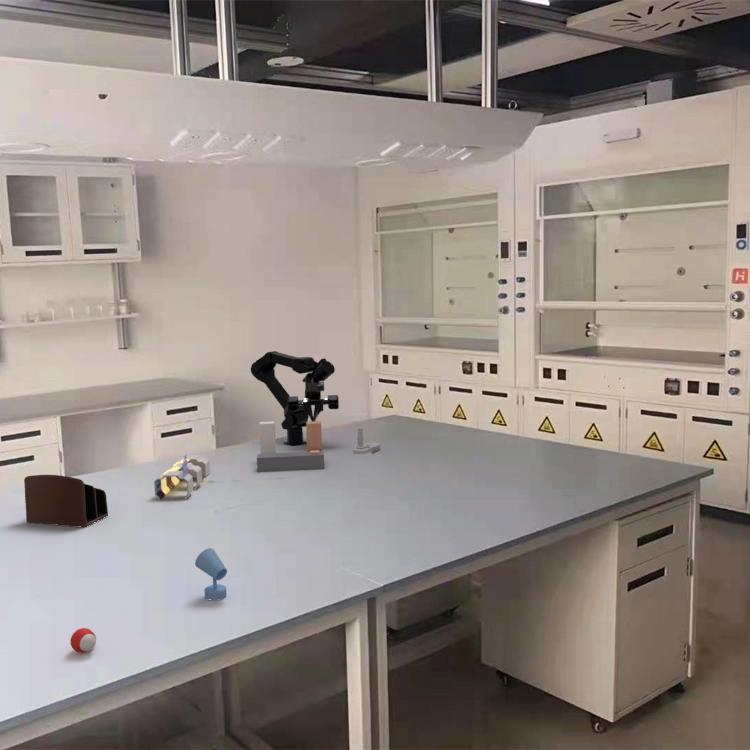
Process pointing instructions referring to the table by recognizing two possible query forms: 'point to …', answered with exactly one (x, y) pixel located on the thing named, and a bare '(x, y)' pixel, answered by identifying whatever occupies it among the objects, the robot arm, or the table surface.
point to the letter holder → (63, 501)
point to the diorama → (183, 475)
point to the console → (290, 461)
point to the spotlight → (212, 573)
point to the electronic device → (365, 445)
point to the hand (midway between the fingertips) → (313, 422)
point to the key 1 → (267, 437)
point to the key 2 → (314, 435)
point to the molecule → (83, 640)
